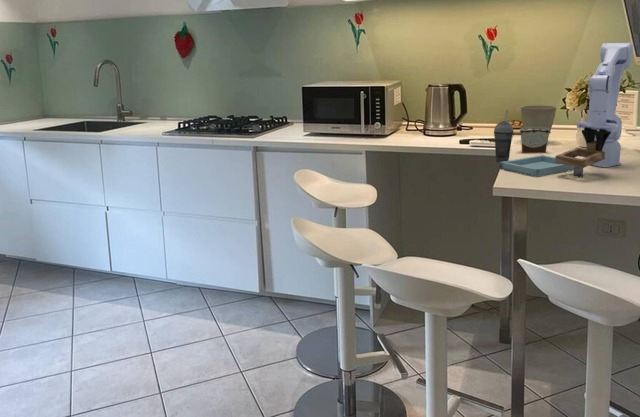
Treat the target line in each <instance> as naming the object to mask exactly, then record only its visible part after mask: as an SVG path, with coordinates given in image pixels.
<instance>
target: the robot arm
mask: <svg viewBox="0 0 640 417" xmlns="http://www.w3.org/2000/svg"><path fill="white" fill-rule="evenodd" d="M633 50H634V47H633V43H632V42H612V43H611V42H608V43H607V42H603V43H602V44H601V46H600V51H599V53H600V55H599V56H600V60H601V61H600V62H601V63H599V64H598V66H597V68H596V71H595V72H594V74H593V75H592V76H590V77H589V79H588V97H589V101H588V102H589V103H588V105H589V106H588V116H587V121H577V122H576V128H578V129H581V134H582V135H583V137H584V141H585V143H586V146H587V143H589V142H592V141H594V140H595V141H596V151H602V152H605V159H604V160H601V161H599V162H596V163H594V164H592V165H591V166H594V167H595V166H596V167H599V168H609V167H614V166H620V165H622V162H620V159H621V150H622V148H621V147H622V146H621V143H620V142H619V140H620V139H621V135H622V130H623V129H622V126H623V121H622V118H621V117H619V116H618V115H617V114H616V110H617V104H618V99H619V94H620V93H619V92H620V88H621V82H622V77H623V74H624V72H625V70H628V69H629V68H630V66H631V64H632V63H631V62H632V58H633V57H632V56H633V52H634V51H633Z"/></svg>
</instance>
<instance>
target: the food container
mask: <svg viewBox="0 0 640 417" xmlns="http://www.w3.org/2000/svg"><path fill="white" fill-rule="evenodd" d="M551 133H552V132H551V131H550V128H546V127H523V126H522V127H521V128H520V129H519V135H520V140H521V141H520V144H521V154H546V153H547V146H548V143H549V136H550V134H551Z"/></svg>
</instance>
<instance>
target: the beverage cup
mask: <svg viewBox="0 0 640 417" xmlns="http://www.w3.org/2000/svg"><path fill="white" fill-rule="evenodd" d="M507 118H508V109H506V110H505V118H504V121H502V120H501V121H499V122H498V123H497V124H496V125H495V127H494V131H493V136H494V145H495V146H494V148H495V150H494V151H495V161H496V163H498V164H500V162H504V161H510V154H511V147H512V146H511V145H512V139H513V136H514V128H513V125H512V124H511V123H510V122H509V121H507Z"/></svg>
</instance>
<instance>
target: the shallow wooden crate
mask: <svg viewBox="0 0 640 417" xmlns="http://www.w3.org/2000/svg"><path fill="white" fill-rule="evenodd" d="M578 157H582V158H578ZM604 159H605V152H602V151H596V141H595V140H594V141H592V142H589V143H587V145H586V148H582V147H575V148H573V149H570V150H567V151H564V152H562V153H559V154H556V155H555V160H556V163H558V164H564V165H569V166H574V167H579V168H583V169H584V168H586V167H589V166H593V165H592V164H594V163H596V162H599V161H601V160H604Z"/></svg>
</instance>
